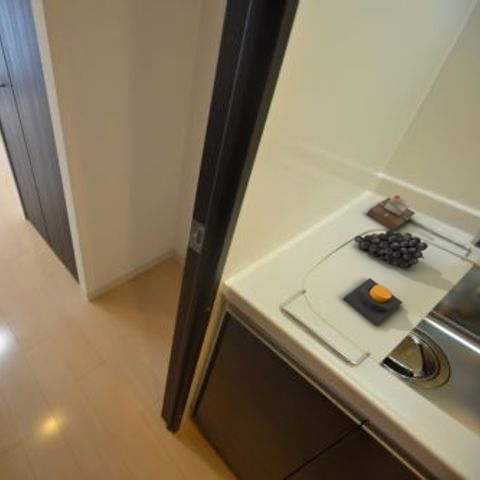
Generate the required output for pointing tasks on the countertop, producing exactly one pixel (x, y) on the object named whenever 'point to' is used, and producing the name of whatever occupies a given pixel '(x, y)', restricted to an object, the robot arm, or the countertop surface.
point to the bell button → (380, 293)
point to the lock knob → (397, 205)
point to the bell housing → (370, 302)
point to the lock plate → (388, 215)
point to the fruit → (393, 247)
